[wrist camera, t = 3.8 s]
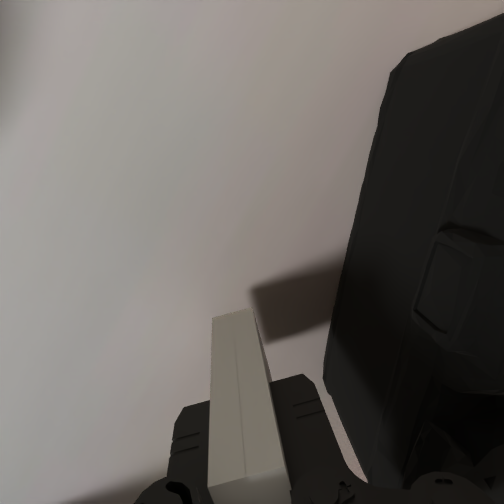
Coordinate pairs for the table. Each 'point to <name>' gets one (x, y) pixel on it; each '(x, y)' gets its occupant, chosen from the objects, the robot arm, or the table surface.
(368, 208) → the film camera
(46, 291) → the table surface
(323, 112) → the table surface
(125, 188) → the table surface
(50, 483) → the table surface
